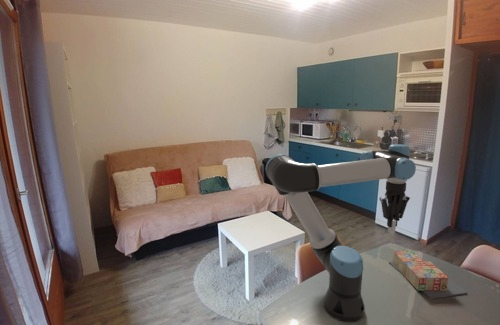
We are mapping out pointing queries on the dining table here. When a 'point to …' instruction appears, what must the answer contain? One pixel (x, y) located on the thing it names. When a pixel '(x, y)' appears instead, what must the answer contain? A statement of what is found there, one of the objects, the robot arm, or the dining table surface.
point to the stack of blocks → (420, 272)
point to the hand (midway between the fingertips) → (391, 233)
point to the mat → (451, 291)
